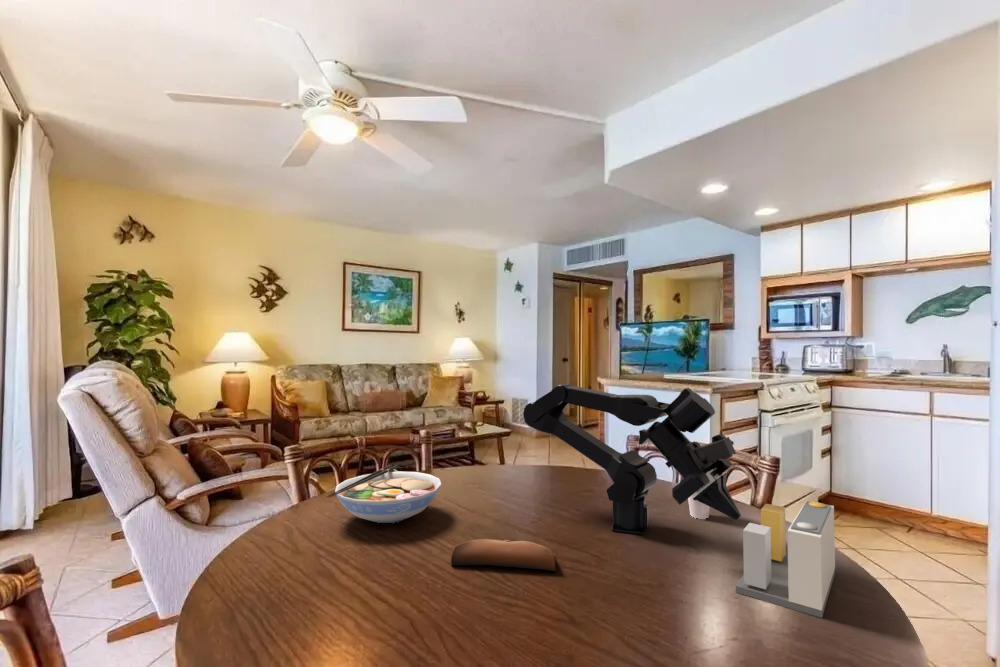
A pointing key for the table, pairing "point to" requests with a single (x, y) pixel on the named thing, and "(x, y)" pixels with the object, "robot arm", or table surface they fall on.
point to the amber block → (775, 529)
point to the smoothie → (698, 508)
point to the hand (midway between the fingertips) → (738, 517)
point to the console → (802, 564)
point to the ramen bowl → (388, 494)
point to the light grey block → (757, 555)
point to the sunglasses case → (504, 554)
